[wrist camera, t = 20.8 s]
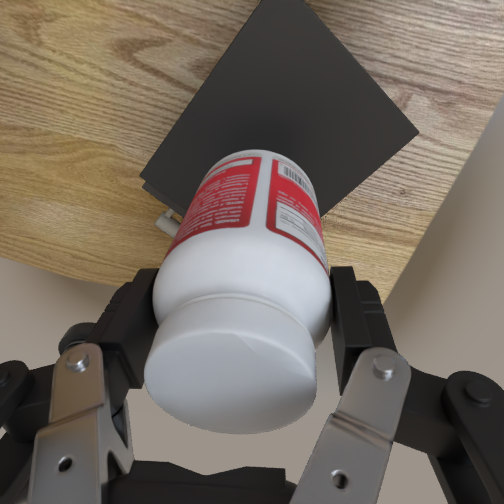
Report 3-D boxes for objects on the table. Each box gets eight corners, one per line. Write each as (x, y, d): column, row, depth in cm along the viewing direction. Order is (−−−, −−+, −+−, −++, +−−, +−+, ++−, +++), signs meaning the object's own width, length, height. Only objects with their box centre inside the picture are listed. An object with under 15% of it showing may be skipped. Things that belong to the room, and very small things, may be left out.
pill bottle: (194, 238, 20) (116, 427, 11) (207, 132, 16) (107, 283, 7) (298, 260, 20) (307, 463, 11) (333, 162, 17) (389, 341, 8)
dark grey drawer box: (268, 214, 38) (262, 267, 30) (173, 137, 34) (138, 176, 26) (385, 101, 30) (420, 132, 22) (282, -16, 26) (279, -27, 18)
